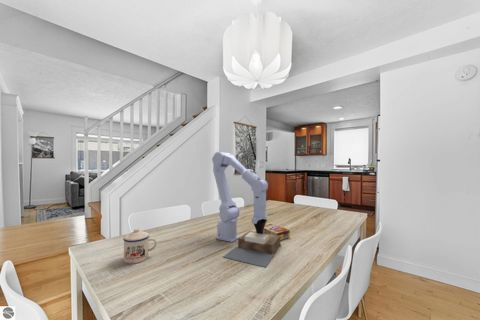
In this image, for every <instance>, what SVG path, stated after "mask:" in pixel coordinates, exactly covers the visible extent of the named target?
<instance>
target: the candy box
mask: <svg viewBox="0 0 480 320" xmlns="http://www.w3.org/2000/svg"><path fill="white" fill-rule="evenodd" d="M290 232H291V231H290V229H287V228H285V227H283V226H281V225H277V224H274V223H272V222H268V223H267V222H266V223H265V226H264V230H263V233H265V234H271V235H277V236H280V241H283V240H286V239H289V238H291V237H290V235H291V234H290Z"/></svg>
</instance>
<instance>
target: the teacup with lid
mask: <svg viewBox="0 0 480 320" xmlns="http://www.w3.org/2000/svg"><path fill="white" fill-rule="evenodd" d="M133 229H134V230H133V231H132V232H130V233H127V234H126V235H125V236H124V237H123V262H124V263H125V264H128V265H129V264H137V263H138V264H139V263H141V262H143V261H146V260H147V259H148V257H149V252H152V251H154V250H155V249H156V247H157V244H158V242H157V239H156V238H153V237H151V238H150V234H149V233H148V232H146V231H142V230H140V228H133ZM150 241H152V242H154V245H153V247H152V248H149V242H150Z"/></svg>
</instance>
